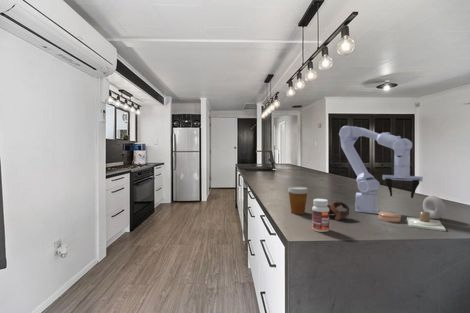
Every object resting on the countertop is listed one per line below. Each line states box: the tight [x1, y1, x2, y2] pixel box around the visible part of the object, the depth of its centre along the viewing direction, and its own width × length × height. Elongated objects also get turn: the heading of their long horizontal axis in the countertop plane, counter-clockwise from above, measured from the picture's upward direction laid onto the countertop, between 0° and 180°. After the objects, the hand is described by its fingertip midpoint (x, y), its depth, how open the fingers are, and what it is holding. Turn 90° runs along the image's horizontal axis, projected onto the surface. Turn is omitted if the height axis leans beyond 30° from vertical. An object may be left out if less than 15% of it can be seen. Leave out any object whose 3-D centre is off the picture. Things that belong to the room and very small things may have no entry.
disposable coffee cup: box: [287, 186, 309, 215], centre depth 119 cm, size 10×10×12 cm
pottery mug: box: [327, 200, 350, 221], centre depth 110 cm, size 12×10×8 cm
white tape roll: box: [422, 195, 446, 220], centre depth 108 cm, size 10×3×10 cm, turn 3°
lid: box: [411, 210, 440, 226], centre depth 99 cm, size 9×9×4 cm
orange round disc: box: [378, 211, 402, 223], centre depth 107 cm, size 9×9×2 cm
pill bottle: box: [311, 198, 330, 233], centre depth 93 cm, size 6×6×11 cm
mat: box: [406, 216, 447, 232], centre depth 100 cm, size 11×13×1 cm
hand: (401, 196), depth 109 cm, fingers open, 7 cm apart
